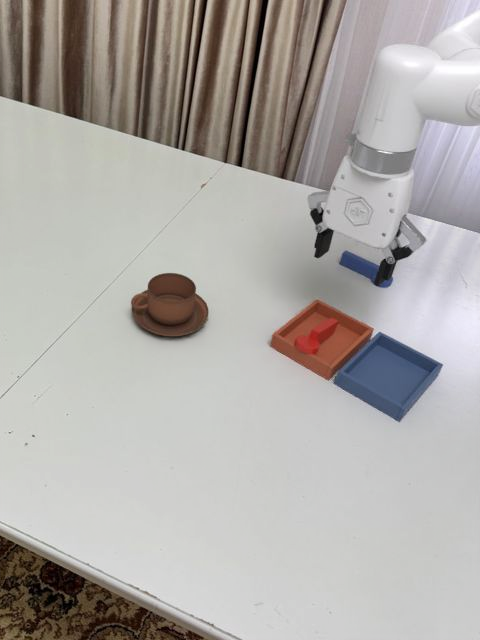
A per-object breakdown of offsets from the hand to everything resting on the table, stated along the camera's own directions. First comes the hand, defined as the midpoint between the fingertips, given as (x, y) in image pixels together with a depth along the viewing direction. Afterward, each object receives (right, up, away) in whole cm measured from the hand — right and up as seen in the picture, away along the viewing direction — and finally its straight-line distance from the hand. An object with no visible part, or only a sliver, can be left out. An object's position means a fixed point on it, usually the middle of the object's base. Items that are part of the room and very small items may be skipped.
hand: (350, 267), depth 89 cm
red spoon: (-4, -11, +5) cm, 12 cm away
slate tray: (+6, -16, +2) cm, 17 cm away
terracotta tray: (-3, -11, +7) cm, 13 cm away
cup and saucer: (-26, -7, +9) cm, 28 cm away
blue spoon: (+9, +2, +22) cm, 24 cm away
